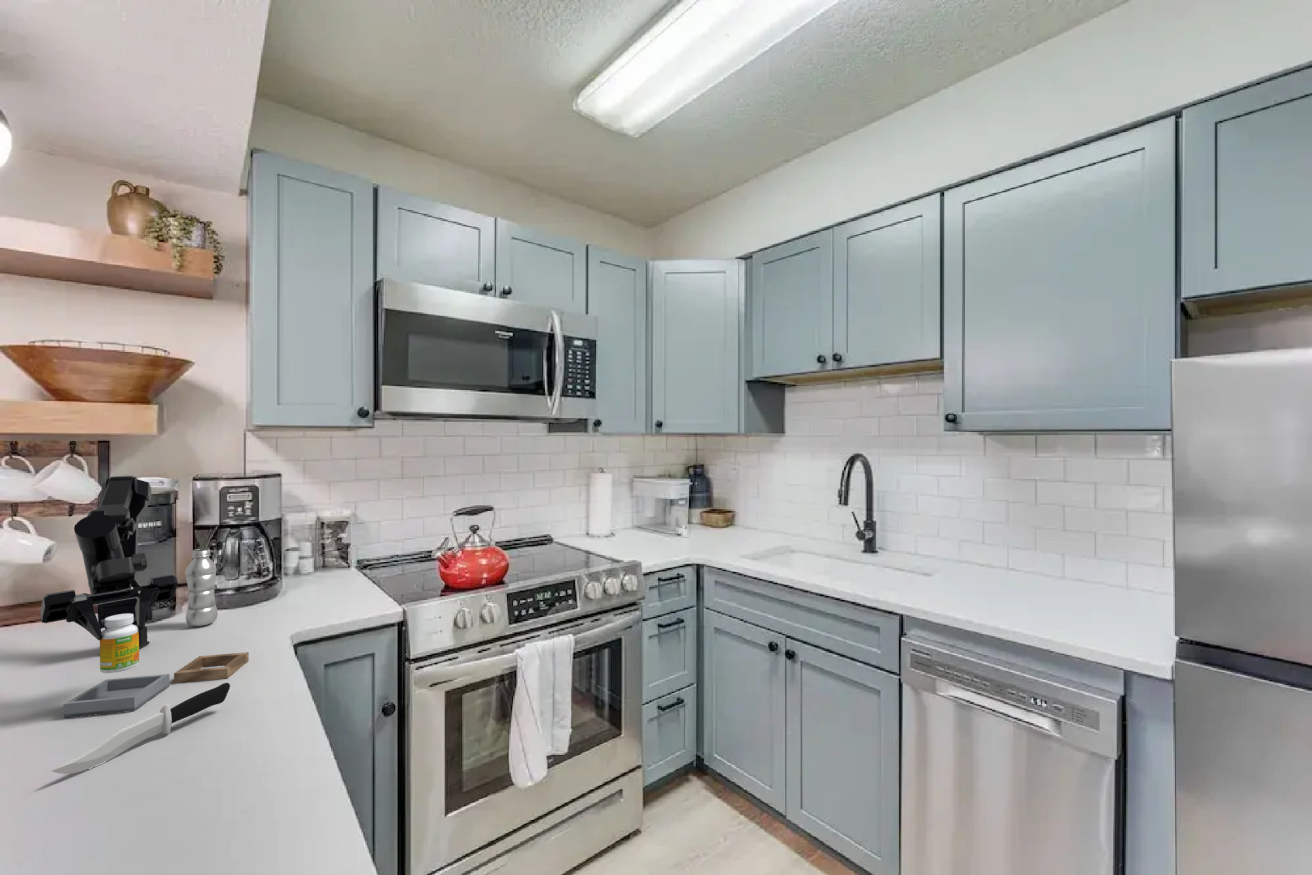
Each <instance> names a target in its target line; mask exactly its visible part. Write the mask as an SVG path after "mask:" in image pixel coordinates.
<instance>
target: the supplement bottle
mask: <svg viewBox="0 0 1312 875" xmlns="http://www.w3.org/2000/svg"><path fill="white" fill-rule="evenodd" d="M133 620H134V616H133V614H119V615H114V616H110V617H107V618H105V623H104V625H105V627H106V629H105V628H104V630H103V629H102V630H101V632H102V639H101V640H99V670H100V671H99V672H100V673H103V674H115V673H121V672H124V671H128V670H131V669H133V668H135V667H136V666H138V665H139V664H140V649H139V628H138V626H136V625H133V624H132V623H133V622H134V621H133Z"/></svg>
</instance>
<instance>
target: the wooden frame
mask: <svg viewBox="0 0 1312 875" xmlns="http://www.w3.org/2000/svg"><path fill="white" fill-rule="evenodd" d="M249 655H250V653H249V652H248V651H247V652H246V651H245V652H236V653H234V652H231V653H222V654H211V655H199V656H198V657H195V659H193V660H192V661H191V662H189V663H186V665H184V666H182V667H181V668H180V669H178V670H176V671H175V672H174V673H173V684H180V683H181V684H183V683H193V682H204V681H215V680H216V681H217V680H223V679H227V680H228V679H229V678H230V677H231V676H232V675H234V673H236V672H238V671H239V669H241V668H242V667H243V666H244V664H245V665H246V664H247V663H248V662H249V658H250V657H249ZM218 665H220V666H221V667H218ZM216 666H217V667H216ZM207 667H210V668H207Z"/></svg>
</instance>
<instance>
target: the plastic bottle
mask: <svg viewBox="0 0 1312 875" xmlns="http://www.w3.org/2000/svg"><path fill="white" fill-rule="evenodd" d="M191 552H192V553H191V559H192V561H190V563H189V564H188V565H187V566H186V569H185V571H184V572H185V579H186V584H187V591H188V593H187V594H188V599H187V600H188V601H187V610H186V615H185V620H186V624H187V625H188V626H189V627H203V625H204V626H207V625H210V624H212V623H214V622H215V621H216V620H217V618H218V614H219V613H218V608H217V605H216V598H215V584H216V583H215V581H216V576H217V566H216V564H215V563H214V562H213V560H212V559H210V556H211V549H210V548H199V549H192V551H191Z"/></svg>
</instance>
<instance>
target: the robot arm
mask: <svg viewBox="0 0 1312 875" xmlns="http://www.w3.org/2000/svg"><path fill="white" fill-rule="evenodd" d="M100 491H101V492H100V500H101V503H100V505H99V507H98V508H95V509H93V510H91V511H89V513H88V514H87V515H86V516H85V517H83V518H81V519H80V520H79V521H77V523H76V524H74V526H73V527H74V528H73V529H74V530H73V531H74V535H75V537H76V540H77V544H78V546H79V550H80V551H81V553H82V559H83V563H84V564H83V565H84V568H85V573H86V574H85V575H86V578H87V586H88V588H89V593H87V592H86V593H76V590H74V589H70V590H65V591H64V590H63V591H58V592H57V591H56V592H52V593H47V594H45V596H44V597H43V598H42V601H41V606H40V621H41V623H43V624H49V623H54V622H59V621H66V623H75V624H77V625H79V626H80V627H82V628H83V629H85V630H86V631H87V632H88V633H89V634H91V635H92V637H94V638H95V639H96V640H98V641H100V640H101V639H102V630H103V629H104V630H105V629H106V627H105V625H104V623H105V618H107V617H110V616H114V615H119V614H133V616H134V620H133V621H134V622H133V623H132V624H133V625H136V626H138V628H139V650H140V649H142V648H144V647H145V646H147V645H149V644H150V640H148V627H147V626H146V623H148V621H153V619H154V615H153V614H154V612H153V607H154V606H155V605H156V604H157V603H160V602H161V603H163V602H165V601H166V602H167V601H170V600H172V599H173V598H174V595H175V593H176V591H177V587H178V585H179V581H178V579H177V578H178V577H177V576H175V575H174V574H172V573H171V574H170V573H169V574H166V575H165V574H164V575H158V576H151V577H149V580H148V583H147V585H141V583H140V582H139V581H138V572H144V571H145V570H146V569H147V568H148V561H147V556H146V553H145V552H142V553H141V552H140V553H138V550H139V549H138V547H139V525H140V524H139V523H140V522H139V520H140V519H141V517H142V516H143V515H144V514H145V512H146V511H147V510H148V507H149V506H148V505H149V502H151V500H152V487H151V484H150V482H148V481H145V480H141V479H138V477H137V476H133V475H123V476H122V475H121V476H110V477H106V480H105V481H104V482H103V483H101V490H100ZM94 606H97V615H96V612H95V608H94Z"/></svg>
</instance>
